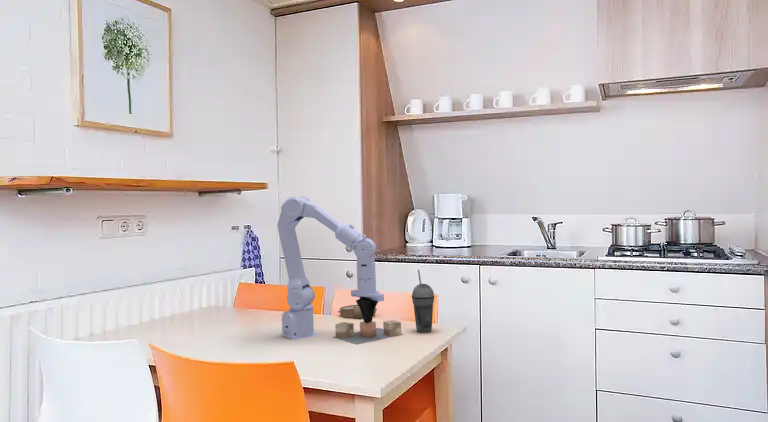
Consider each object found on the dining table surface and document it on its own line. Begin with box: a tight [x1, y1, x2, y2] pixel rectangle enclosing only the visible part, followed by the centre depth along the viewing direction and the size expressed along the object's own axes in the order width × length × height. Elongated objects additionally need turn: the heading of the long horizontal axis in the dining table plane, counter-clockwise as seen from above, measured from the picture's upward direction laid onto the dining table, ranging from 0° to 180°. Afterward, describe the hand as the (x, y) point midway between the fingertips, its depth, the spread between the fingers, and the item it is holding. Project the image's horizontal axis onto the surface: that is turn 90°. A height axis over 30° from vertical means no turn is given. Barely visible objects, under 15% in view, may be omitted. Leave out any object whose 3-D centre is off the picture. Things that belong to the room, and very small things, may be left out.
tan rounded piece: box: [359, 320, 377, 338], centre depth 183 cm, size 5×5×4 cm
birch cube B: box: [383, 319, 402, 338], centre depth 183 cm, size 4×4×4 cm
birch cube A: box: [334, 321, 355, 339], centre depth 182 cm, size 4×4×4 cm
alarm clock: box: [337, 304, 378, 320], centre depth 217 cm, size 11×5×15 cm
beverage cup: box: [411, 269, 436, 334], centre depth 186 cm, size 7×7×20 cm
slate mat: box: [332, 327, 404, 345], centre depth 183 cm, size 18×13×1 cm
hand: (367, 322), depth 183 cm, fingers closed
